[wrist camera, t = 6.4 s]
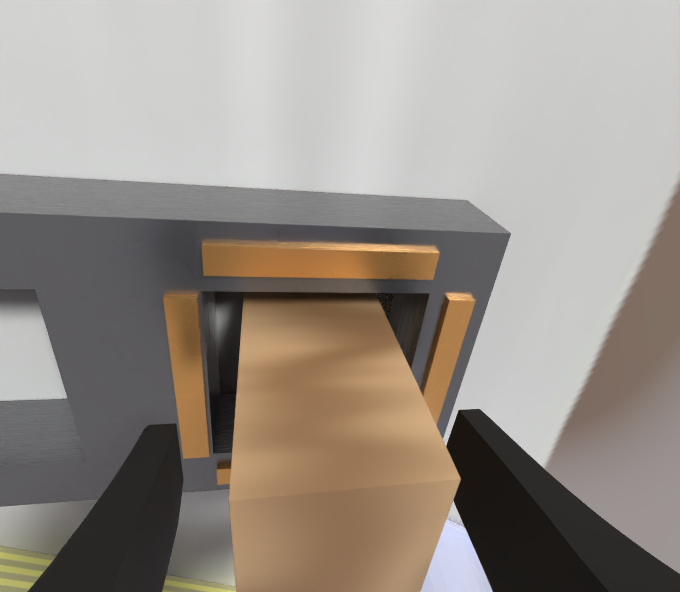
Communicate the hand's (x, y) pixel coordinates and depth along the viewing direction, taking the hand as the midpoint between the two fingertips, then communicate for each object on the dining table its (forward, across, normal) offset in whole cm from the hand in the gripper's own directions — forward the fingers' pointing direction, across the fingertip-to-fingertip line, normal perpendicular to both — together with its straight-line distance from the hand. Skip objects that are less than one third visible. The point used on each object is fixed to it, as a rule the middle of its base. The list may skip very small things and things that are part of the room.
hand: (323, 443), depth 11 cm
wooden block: (+5, 0, 0) cm, 5 cm away
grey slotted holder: (+5, +5, 0) cm, 7 cm away
